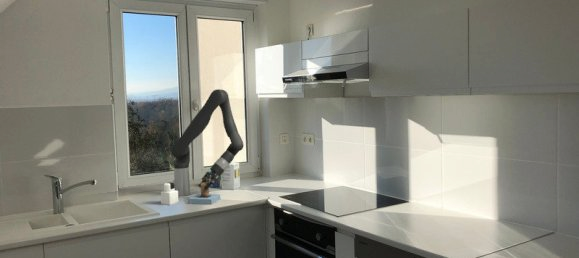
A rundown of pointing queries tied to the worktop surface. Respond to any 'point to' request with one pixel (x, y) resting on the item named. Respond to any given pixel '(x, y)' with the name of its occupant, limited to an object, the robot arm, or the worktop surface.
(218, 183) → the snack cup
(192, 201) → the socket block
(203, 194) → the walnut peg
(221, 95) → the robot arm
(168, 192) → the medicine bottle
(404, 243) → the worktop surface
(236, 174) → the supplement box
